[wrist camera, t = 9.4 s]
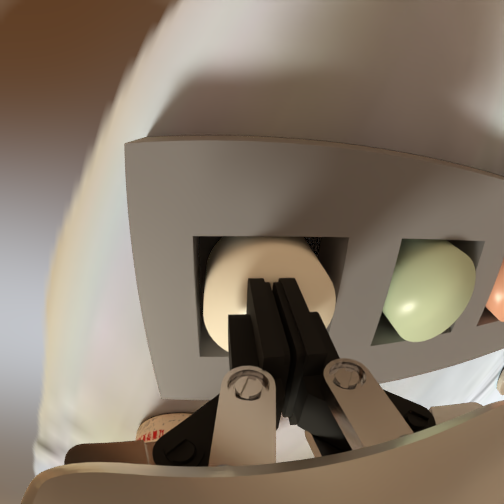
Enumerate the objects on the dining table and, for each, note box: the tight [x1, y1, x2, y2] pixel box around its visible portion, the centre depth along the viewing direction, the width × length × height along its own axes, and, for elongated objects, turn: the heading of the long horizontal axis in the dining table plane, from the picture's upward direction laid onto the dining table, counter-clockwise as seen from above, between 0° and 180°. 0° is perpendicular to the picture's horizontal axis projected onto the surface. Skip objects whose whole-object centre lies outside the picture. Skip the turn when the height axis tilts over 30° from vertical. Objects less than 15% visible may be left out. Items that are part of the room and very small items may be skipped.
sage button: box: [382, 238, 476, 342], centre depth 13 cm, size 5×5×3 cm
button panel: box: [124, 135, 504, 400], centre depth 14 cm, size 26×12×3 cm, turn 87°
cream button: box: [203, 236, 336, 352], centre depth 13 cm, size 5×5×3 cm
